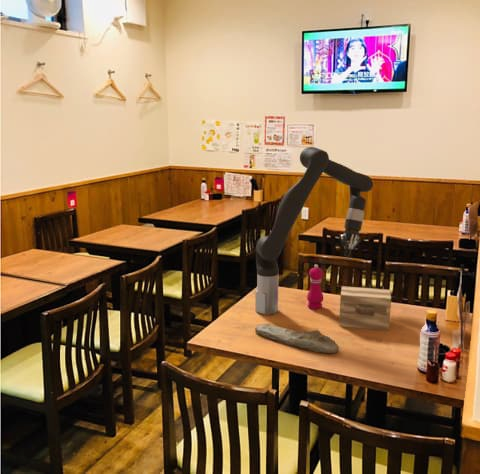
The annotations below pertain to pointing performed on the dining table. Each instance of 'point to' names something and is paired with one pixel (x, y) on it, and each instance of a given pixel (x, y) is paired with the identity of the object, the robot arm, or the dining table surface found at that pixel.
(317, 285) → the pepper mill
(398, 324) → the dining table surface
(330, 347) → the long grey stone
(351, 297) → the wooden crate
